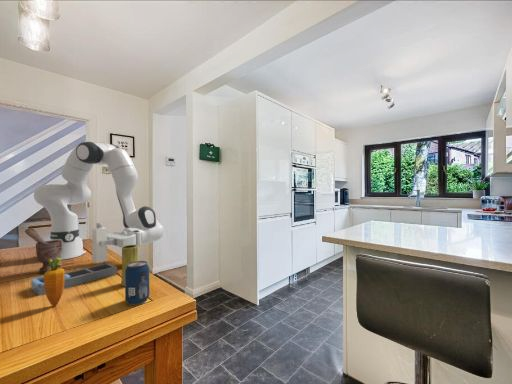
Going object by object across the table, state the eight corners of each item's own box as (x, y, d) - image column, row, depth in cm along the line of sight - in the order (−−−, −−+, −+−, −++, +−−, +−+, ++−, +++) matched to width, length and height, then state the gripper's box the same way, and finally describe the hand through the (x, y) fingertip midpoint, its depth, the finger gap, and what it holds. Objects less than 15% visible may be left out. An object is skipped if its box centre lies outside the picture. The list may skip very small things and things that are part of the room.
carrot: (43, 306, 71) (42, 257, 71) (63, 300, 75) (63, 254, 75) (45, 312, 68) (44, 261, 68) (66, 305, 72) (66, 257, 72)
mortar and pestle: (28, 278, 94) (28, 229, 94) (24, 274, 100) (23, 227, 99) (64, 270, 104) (64, 225, 104) (58, 266, 109) (58, 224, 109)
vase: (131, 287, 85) (131, 248, 85) (116, 286, 86) (116, 247, 86) (142, 281, 91) (142, 244, 91) (129, 279, 92) (128, 244, 92)
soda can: (133, 295, 78) (132, 260, 78) (153, 295, 78) (153, 260, 78) (120, 305, 72) (120, 267, 71) (142, 306, 71) (142, 267, 71)
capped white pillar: (92, 261, 98) (92, 223, 98) (102, 259, 101) (102, 222, 101) (96, 263, 96) (96, 224, 95) (107, 260, 99) (107, 223, 99)
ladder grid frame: (30, 289, 84) (30, 279, 84) (106, 269, 105) (106, 261, 105) (38, 295, 79) (38, 284, 79) (116, 273, 99) (116, 264, 99)
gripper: (119, 228, 115) (86, 232, 103) (142, 232, 103) (108, 237, 92) (119, 240, 115) (86, 246, 103) (142, 246, 103) (109, 253, 92)
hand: (97, 242), depth 97 cm, fingers closed on capped white pillar, 4 cm apart
